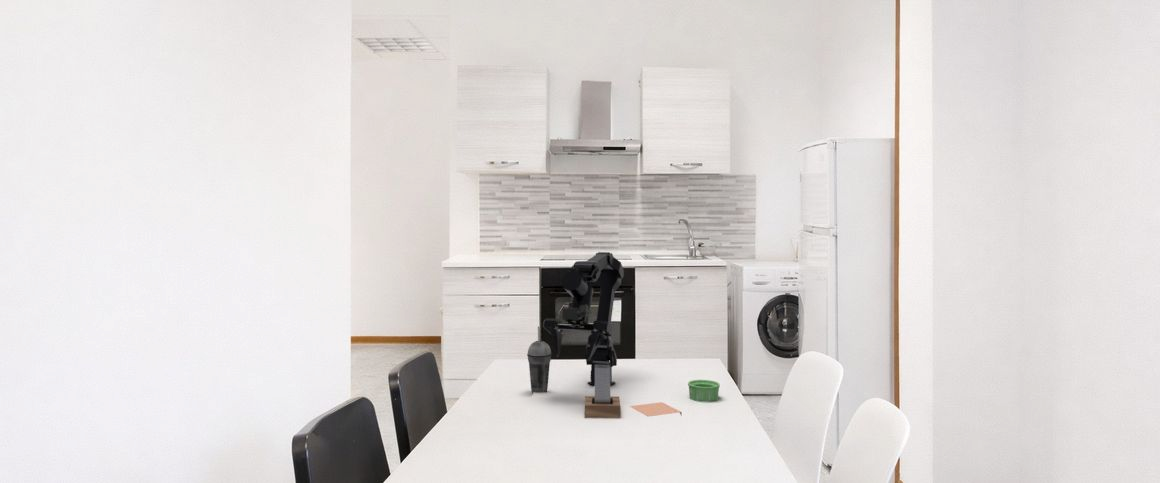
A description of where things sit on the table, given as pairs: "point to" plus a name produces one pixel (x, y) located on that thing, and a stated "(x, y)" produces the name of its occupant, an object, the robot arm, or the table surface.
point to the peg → (602, 384)
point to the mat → (655, 409)
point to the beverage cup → (539, 364)
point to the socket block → (602, 408)
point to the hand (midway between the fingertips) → (572, 357)
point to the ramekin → (703, 390)
